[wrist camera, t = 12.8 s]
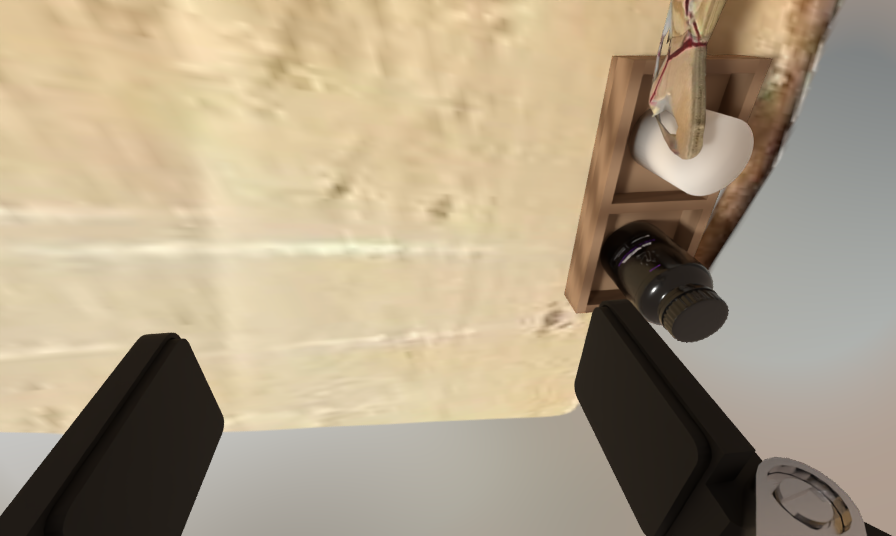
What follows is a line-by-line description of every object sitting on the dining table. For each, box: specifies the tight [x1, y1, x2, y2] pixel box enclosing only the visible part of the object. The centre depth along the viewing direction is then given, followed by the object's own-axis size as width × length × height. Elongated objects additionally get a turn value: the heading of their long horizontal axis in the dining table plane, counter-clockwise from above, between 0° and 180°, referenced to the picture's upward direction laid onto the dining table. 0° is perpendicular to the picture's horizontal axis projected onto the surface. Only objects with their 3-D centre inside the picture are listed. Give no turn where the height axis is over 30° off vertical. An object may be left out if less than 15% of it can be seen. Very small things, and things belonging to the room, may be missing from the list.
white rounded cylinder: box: [629, 108, 754, 196], centre depth 33 cm, size 6×6×7 cm
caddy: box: [564, 55, 772, 313], centre depth 39 cm, size 24×12×4 cm, turn 0°
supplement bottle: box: [600, 222, 729, 343], centre depth 37 cm, size 7×7×12 cm
